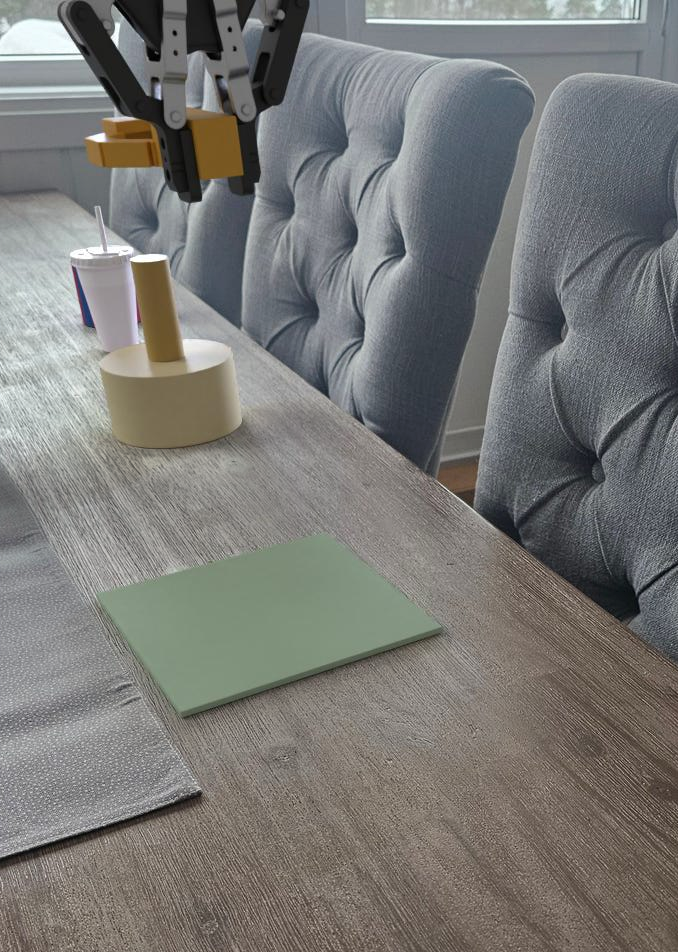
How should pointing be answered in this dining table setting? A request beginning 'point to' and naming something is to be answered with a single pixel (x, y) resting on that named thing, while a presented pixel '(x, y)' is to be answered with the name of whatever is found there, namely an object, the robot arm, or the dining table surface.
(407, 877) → the dining table surface
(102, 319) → the smoothie
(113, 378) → the stand
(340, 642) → the mat
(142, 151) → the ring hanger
